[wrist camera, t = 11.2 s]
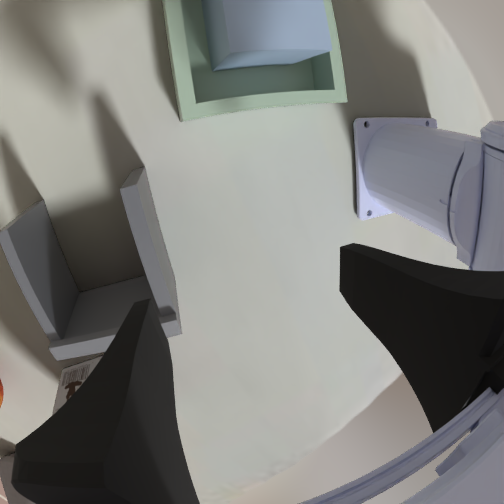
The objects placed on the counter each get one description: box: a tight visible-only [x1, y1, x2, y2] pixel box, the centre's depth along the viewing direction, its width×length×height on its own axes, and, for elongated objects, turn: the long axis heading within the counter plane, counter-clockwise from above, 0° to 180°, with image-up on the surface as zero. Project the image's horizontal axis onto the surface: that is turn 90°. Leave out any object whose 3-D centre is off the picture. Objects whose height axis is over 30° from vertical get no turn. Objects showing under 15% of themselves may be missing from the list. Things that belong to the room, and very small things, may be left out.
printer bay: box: [0, 167, 182, 361], centre depth 15 cm, size 8×8×6 cm
